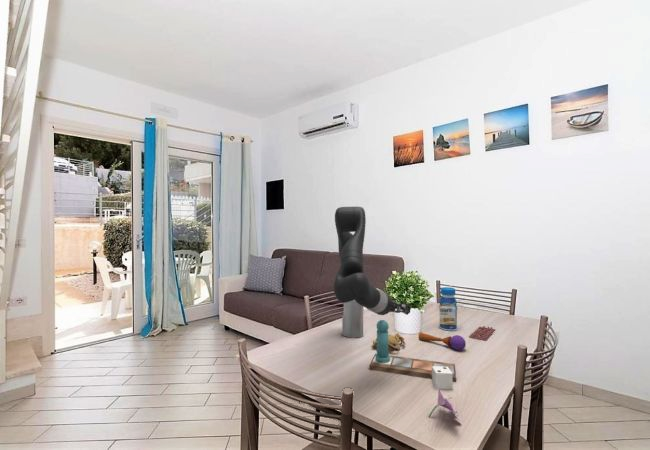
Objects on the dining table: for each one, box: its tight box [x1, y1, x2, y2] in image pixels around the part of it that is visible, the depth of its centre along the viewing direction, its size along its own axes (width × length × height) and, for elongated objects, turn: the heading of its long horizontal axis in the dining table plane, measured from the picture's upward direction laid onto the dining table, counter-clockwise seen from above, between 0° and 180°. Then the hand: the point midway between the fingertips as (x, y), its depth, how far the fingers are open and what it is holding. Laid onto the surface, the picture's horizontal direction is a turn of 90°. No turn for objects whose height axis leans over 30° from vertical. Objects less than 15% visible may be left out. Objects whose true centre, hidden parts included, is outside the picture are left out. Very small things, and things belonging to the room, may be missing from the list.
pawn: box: [375, 319, 391, 363], centre depth 118 cm, size 5×5×14 cm
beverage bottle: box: [438, 286, 458, 332], centre depth 159 cm, size 8×8×20 cm
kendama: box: [418, 332, 467, 352], centre depth 137 cm, size 6×6×20 cm
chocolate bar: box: [468, 325, 496, 342], centre depth 151 cm, size 7×19×2 cm, turn 141°
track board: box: [368, 353, 457, 383], centre depth 114 cm, size 29×11×2 cm, turn 70°
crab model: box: [372, 332, 406, 351], centre depth 135 cm, size 16×13×6 cm
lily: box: [428, 374, 462, 425], centre depth 85 cm, size 12×12×10 cm
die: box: [431, 366, 454, 390], centre depth 102 cm, size 5×5×5 cm
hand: (396, 311), depth 116 cm, fingers open, 8 cm apart
